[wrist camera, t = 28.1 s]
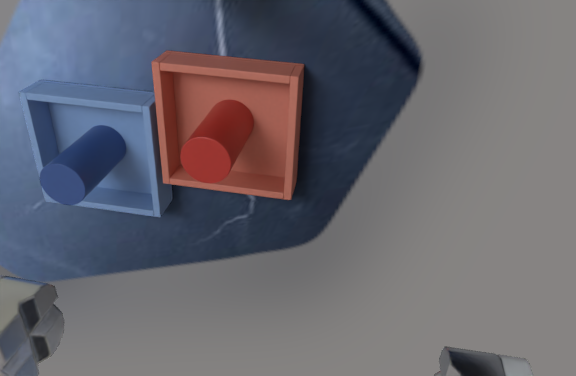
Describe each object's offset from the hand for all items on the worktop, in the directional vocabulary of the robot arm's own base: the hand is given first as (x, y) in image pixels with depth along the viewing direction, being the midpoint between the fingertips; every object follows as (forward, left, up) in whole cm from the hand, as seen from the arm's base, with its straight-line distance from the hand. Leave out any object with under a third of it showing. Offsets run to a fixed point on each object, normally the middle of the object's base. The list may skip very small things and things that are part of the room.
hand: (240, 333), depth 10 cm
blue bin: (+19, +12, -29) cm, 37 cm away
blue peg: (+19, +12, -29) cm, 36 cm away
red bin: (+8, +9, -29) cm, 31 cm away
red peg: (+8, +8, -29) cm, 31 cm away
